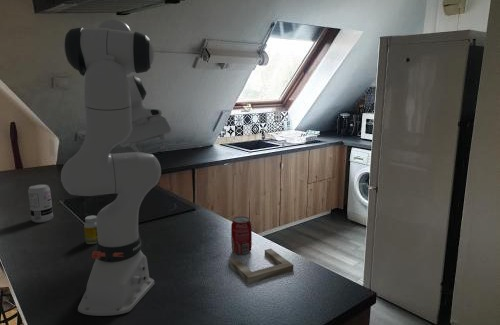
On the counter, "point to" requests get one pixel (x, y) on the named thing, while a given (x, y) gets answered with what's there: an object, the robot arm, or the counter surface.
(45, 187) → the supplement can
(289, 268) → the birch bay
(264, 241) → the counter surface
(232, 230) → the soda can
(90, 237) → the supplement bottle
